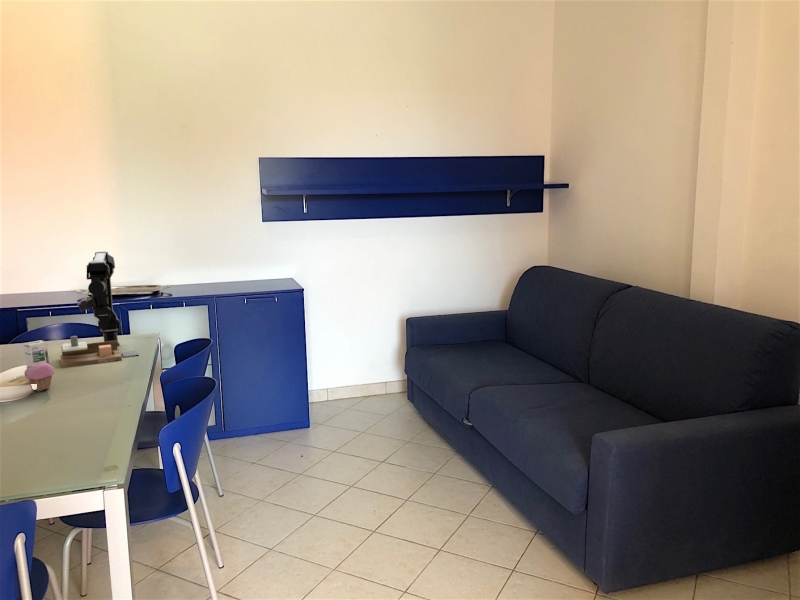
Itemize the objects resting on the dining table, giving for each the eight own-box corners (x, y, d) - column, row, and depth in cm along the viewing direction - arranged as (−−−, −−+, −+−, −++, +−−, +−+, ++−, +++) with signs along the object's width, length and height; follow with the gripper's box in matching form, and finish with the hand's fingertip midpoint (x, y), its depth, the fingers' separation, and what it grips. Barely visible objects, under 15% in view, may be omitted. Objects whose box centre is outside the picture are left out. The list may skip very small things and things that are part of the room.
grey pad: (122, 353, 259) (121, 352, 259) (137, 351, 262) (136, 350, 262) (123, 357, 253) (123, 356, 252) (139, 355, 255) (138, 354, 255)
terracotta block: (99, 357, 254) (98, 345, 253) (111, 355, 256) (110, 344, 255) (100, 359, 250) (99, 348, 249) (112, 358, 252) (111, 346, 251)
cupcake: (47, 384, 216) (44, 357, 214) (61, 388, 212) (58, 361, 210) (21, 391, 209) (18, 363, 207) (35, 395, 204) (32, 367, 203)
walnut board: (61, 358, 252) (60, 346, 251) (118, 351, 262) (117, 339, 262) (61, 367, 238) (59, 354, 237) (121, 360, 249) (120, 347, 248)
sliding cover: (62, 345, 251) (61, 335, 251) (86, 343, 256) (85, 332, 255) (62, 351, 241) (61, 340, 240) (87, 349, 245) (86, 338, 245)
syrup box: (34, 383, 218) (30, 344, 215) (27, 380, 221) (23, 342, 219) (51, 379, 222) (47, 341, 220) (44, 376, 226) (40, 339, 223)
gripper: (77, 290, 252) (80, 326, 255) (78, 296, 236) (82, 335, 239) (106, 288, 258) (109, 323, 260) (109, 294, 242) (112, 331, 244)
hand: (103, 328), depth 251 cm, fingers open, 9 cm apart
